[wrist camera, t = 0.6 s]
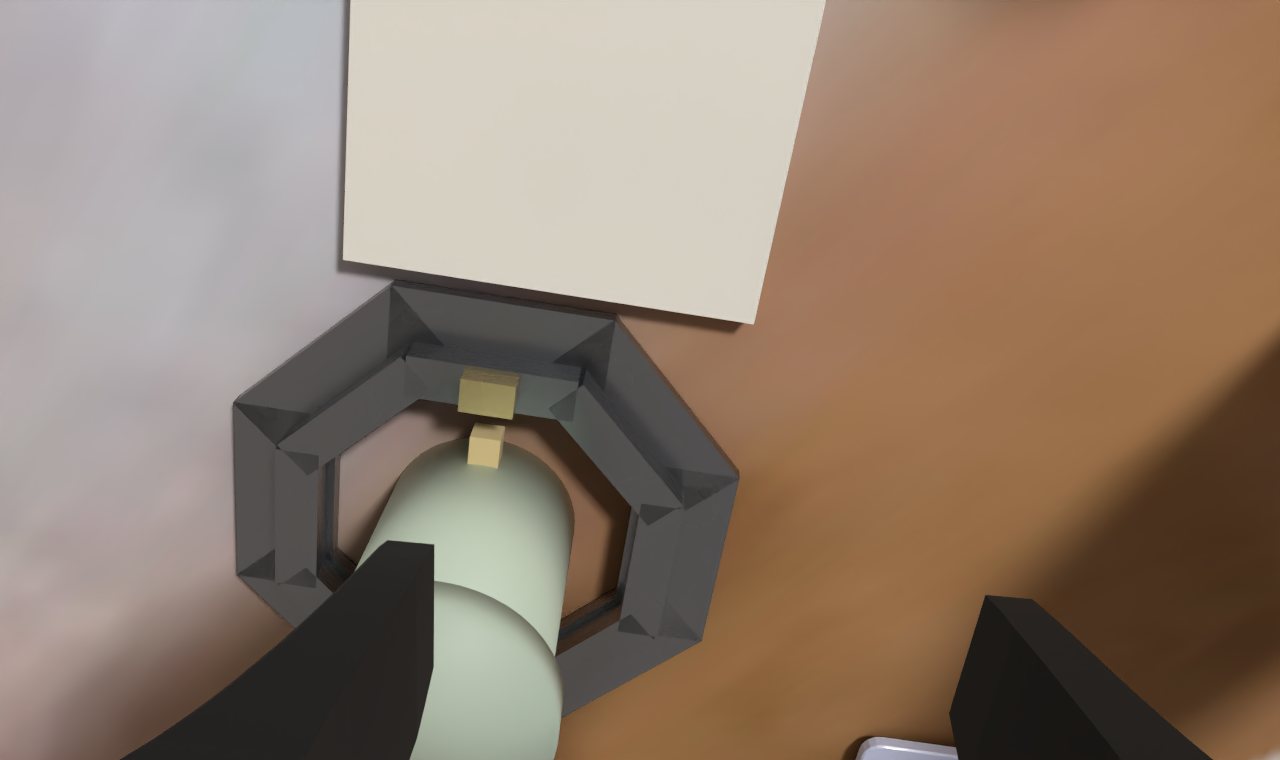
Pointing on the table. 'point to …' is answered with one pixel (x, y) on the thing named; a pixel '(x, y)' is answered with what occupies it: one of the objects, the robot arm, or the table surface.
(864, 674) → the table surface
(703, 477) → the bayonet collar
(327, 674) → the robot arm
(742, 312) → the plate
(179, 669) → the table surface
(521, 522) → the pale green jar
